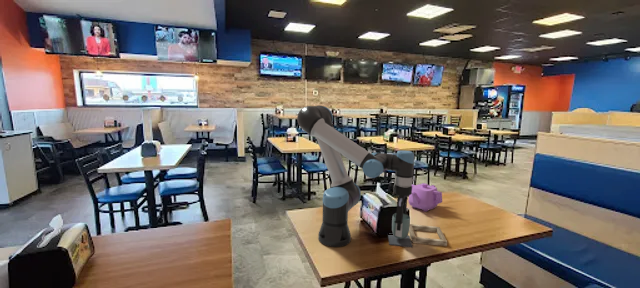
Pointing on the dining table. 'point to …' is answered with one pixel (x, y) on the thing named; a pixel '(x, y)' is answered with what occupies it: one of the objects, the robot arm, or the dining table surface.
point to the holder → (440, 242)
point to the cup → (404, 228)
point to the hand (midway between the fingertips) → (400, 232)
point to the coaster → (400, 241)
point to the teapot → (425, 197)
